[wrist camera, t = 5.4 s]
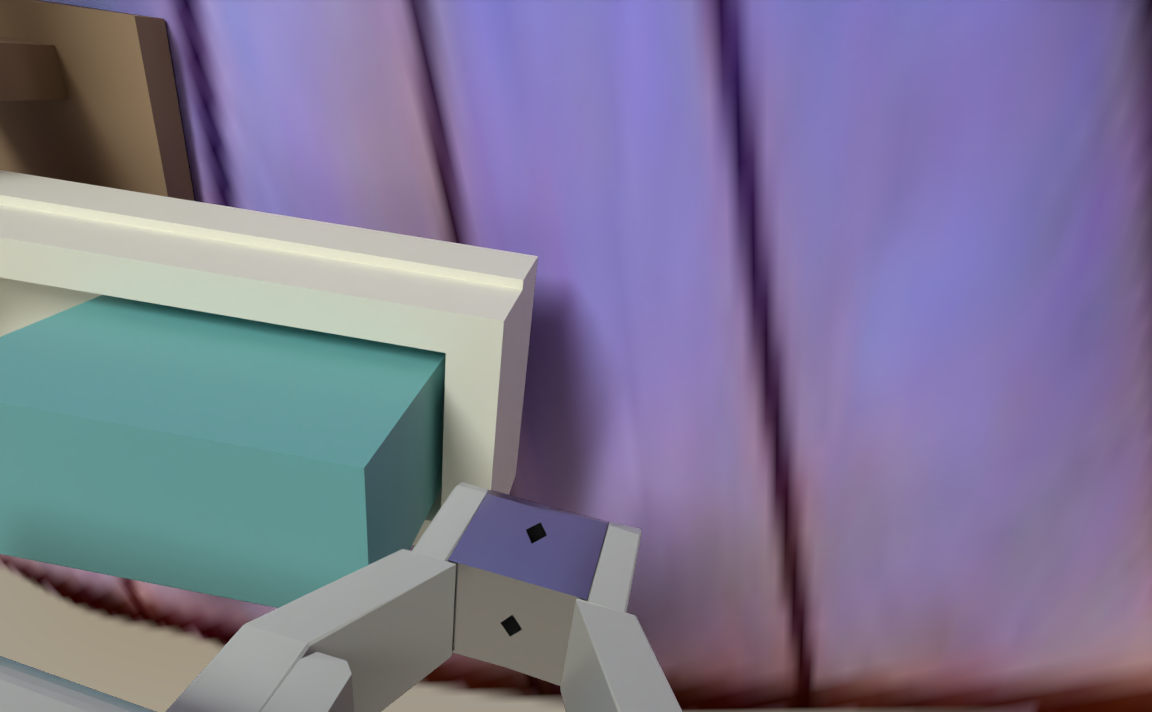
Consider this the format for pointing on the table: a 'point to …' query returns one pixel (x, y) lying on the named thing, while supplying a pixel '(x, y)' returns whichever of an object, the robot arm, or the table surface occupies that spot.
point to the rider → (213, 448)
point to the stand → (90, 99)
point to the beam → (288, 292)
